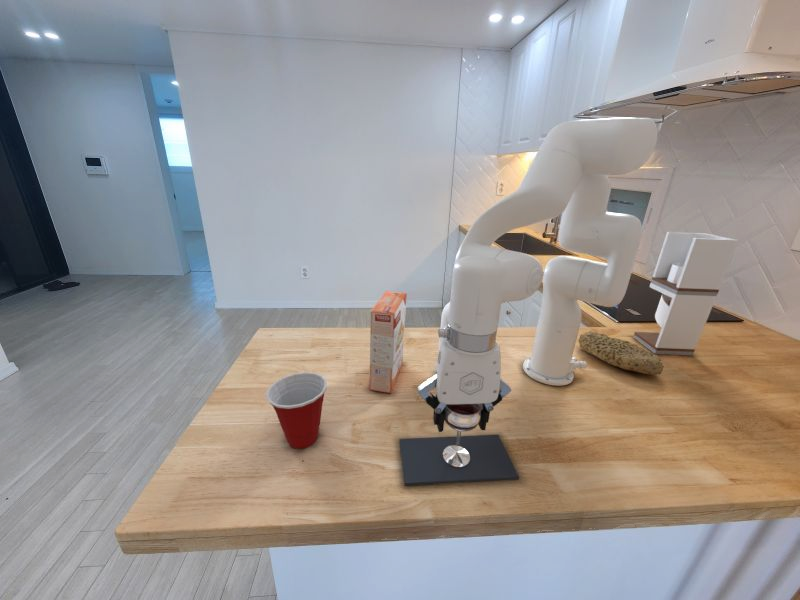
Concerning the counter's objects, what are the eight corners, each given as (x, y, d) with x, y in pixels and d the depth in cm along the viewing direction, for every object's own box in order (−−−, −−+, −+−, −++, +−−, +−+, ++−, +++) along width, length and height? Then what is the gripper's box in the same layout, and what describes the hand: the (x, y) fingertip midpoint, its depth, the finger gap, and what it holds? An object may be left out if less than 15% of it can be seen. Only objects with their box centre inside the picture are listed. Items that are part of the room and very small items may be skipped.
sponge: (571, 353, 103) (632, 377, 84) (577, 328, 102) (640, 347, 83) (604, 355, 107) (669, 380, 88) (610, 332, 106) (677, 351, 87)
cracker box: (393, 394, 79) (395, 313, 71) (368, 390, 80) (368, 310, 72) (404, 363, 92) (407, 291, 84) (383, 360, 93) (384, 289, 85)
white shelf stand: (667, 338, 111) (705, 233, 99) (692, 355, 102) (739, 240, 89) (633, 337, 112) (667, 231, 99) (655, 353, 102) (696, 238, 89)
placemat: (497, 436, 68) (498, 434, 67) (518, 479, 58) (519, 476, 58) (399, 441, 66) (399, 438, 65) (404, 486, 56) (404, 483, 56)
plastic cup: (296, 412, 72) (291, 364, 68) (340, 427, 69) (338, 377, 64) (259, 448, 63) (251, 395, 58) (308, 467, 59) (303, 412, 55)
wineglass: (482, 456, 62) (490, 403, 57) (460, 478, 57) (467, 422, 53) (452, 436, 66) (458, 385, 62) (430, 454, 62) (434, 401, 57)
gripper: (420, 348, 48) (414, 444, 55) (535, 346, 50) (515, 439, 57) (413, 325, 55) (408, 412, 62) (514, 324, 57) (499, 409, 63)
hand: (460, 424), depth 59 cm, fingers closed on wineglass, 6 cm apart
